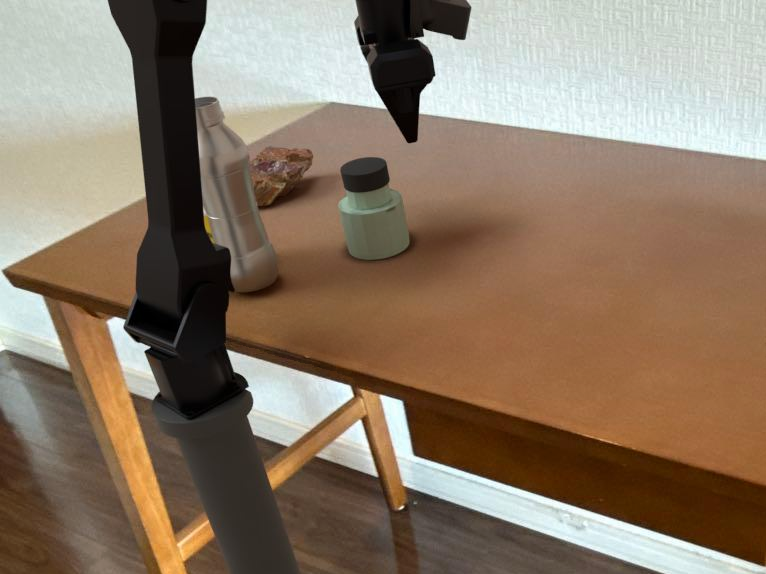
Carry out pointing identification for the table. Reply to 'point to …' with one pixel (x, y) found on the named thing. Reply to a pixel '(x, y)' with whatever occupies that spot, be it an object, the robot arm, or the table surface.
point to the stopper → (365, 174)
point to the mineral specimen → (278, 172)
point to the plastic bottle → (232, 200)
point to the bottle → (374, 223)
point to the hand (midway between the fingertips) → (407, 128)
